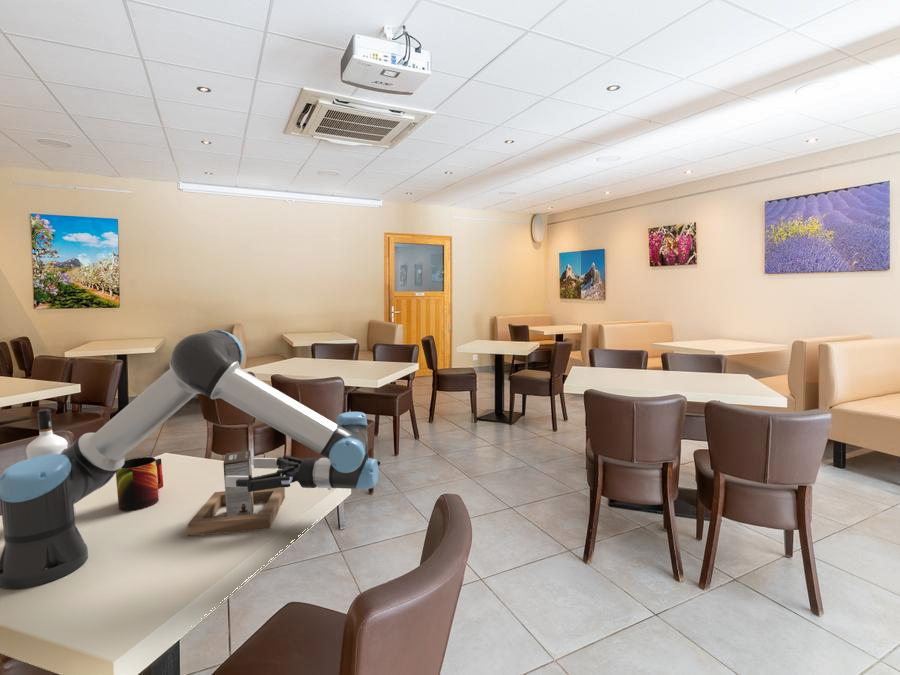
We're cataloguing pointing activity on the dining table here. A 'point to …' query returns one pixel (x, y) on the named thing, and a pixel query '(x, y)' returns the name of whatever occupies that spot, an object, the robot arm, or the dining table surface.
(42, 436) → the vodka
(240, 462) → the coffee box
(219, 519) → the block
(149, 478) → the mug
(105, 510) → the dining table surface
